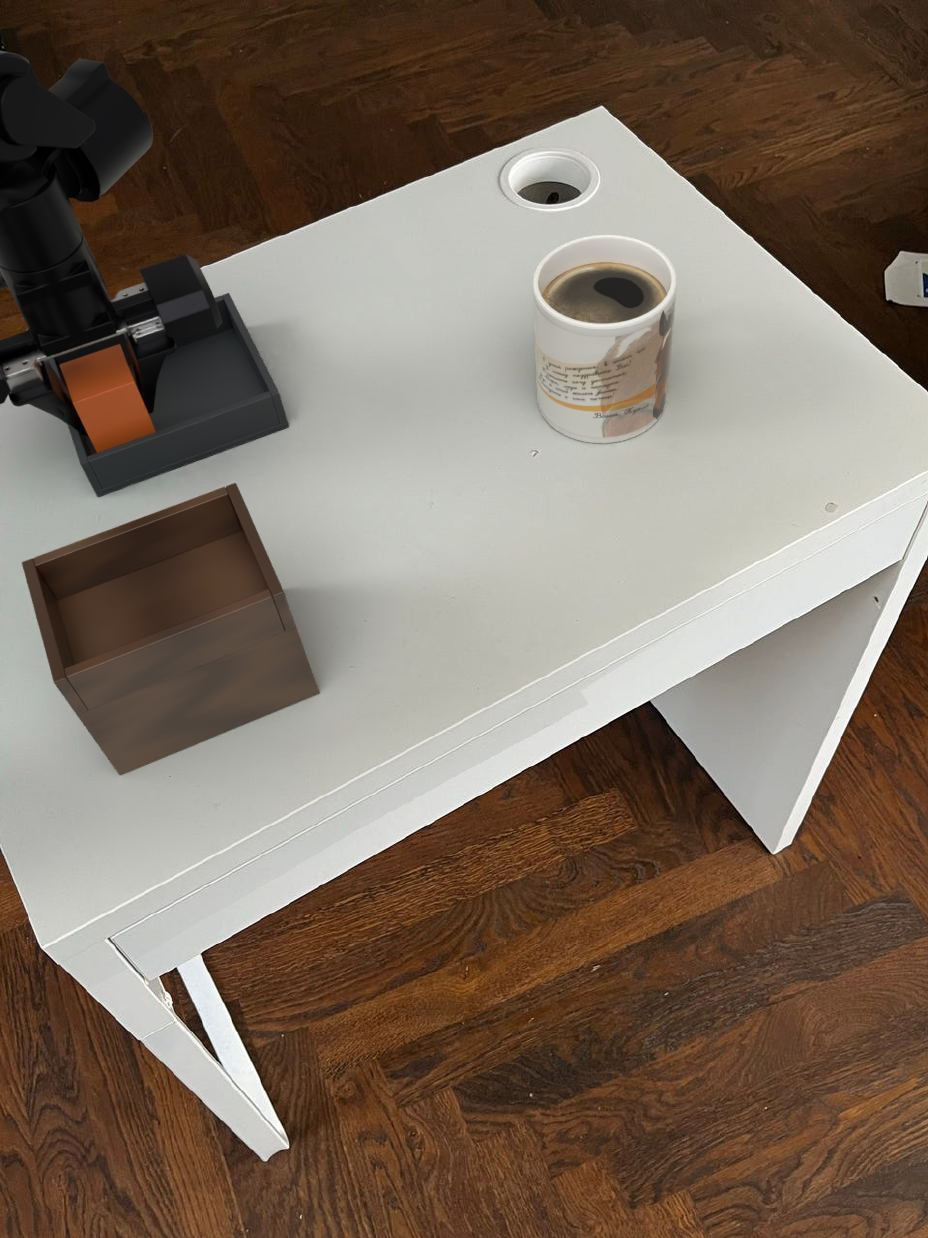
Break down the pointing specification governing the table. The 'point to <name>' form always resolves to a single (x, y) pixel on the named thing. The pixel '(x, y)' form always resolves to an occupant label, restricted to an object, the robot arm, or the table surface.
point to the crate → (169, 629)
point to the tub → (189, 405)
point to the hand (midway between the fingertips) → (118, 420)
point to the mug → (603, 336)
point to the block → (107, 398)
